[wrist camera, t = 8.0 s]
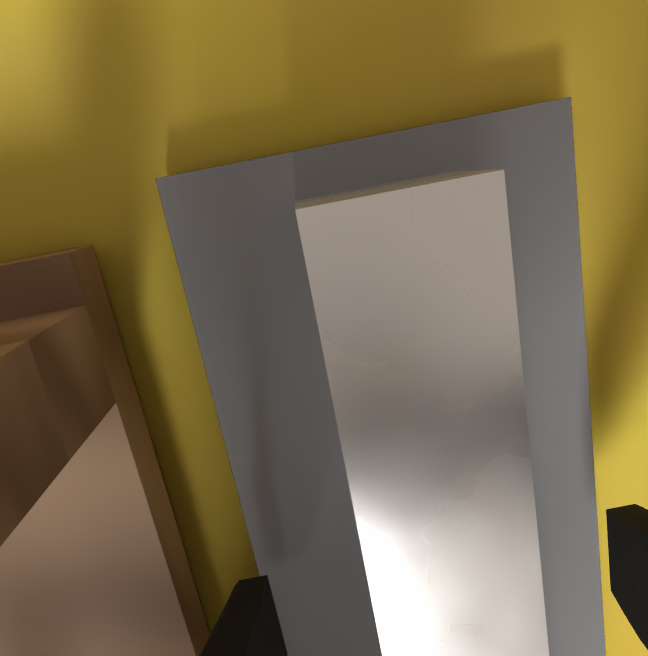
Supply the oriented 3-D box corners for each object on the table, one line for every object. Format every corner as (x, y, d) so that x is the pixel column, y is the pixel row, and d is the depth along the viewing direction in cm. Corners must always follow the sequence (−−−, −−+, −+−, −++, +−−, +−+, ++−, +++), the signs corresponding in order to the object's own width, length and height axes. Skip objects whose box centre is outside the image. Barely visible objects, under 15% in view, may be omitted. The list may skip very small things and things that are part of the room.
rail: (520, 775, 15) (573, 918, 12) (411, 795, 15) (438, 943, 12) (447, 171, 11) (504, 169, 8) (295, 200, 11) (294, 209, 8)
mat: (604, 768, 16) (614, 786, 15) (328, 820, 16) (329, 841, 15) (558, 100, 11) (570, 96, 10) (161, 178, 11) (155, 178, 10)
